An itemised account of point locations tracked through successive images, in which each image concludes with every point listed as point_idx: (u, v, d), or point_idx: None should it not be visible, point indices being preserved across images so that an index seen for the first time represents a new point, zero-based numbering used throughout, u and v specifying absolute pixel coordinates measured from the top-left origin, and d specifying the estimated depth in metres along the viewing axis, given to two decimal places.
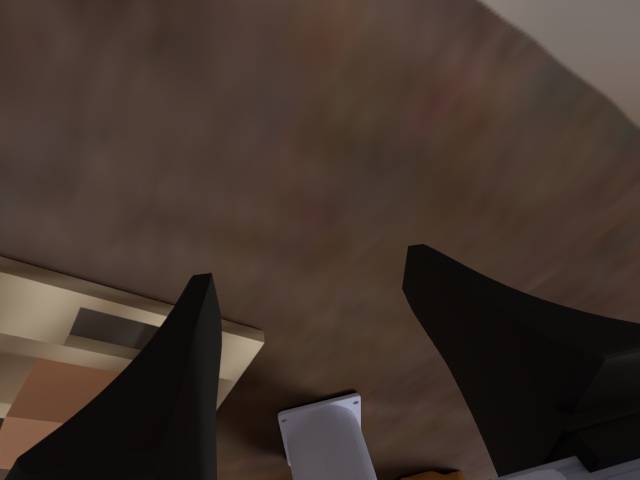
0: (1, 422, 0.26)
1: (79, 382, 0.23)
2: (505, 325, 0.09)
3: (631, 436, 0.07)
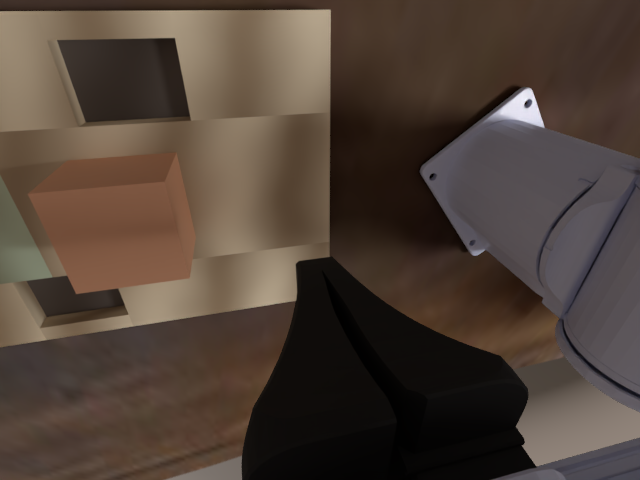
0: (112, 289, 0.22)
1: (121, 164, 0.16)
2: (368, 351, 0.08)
3: None
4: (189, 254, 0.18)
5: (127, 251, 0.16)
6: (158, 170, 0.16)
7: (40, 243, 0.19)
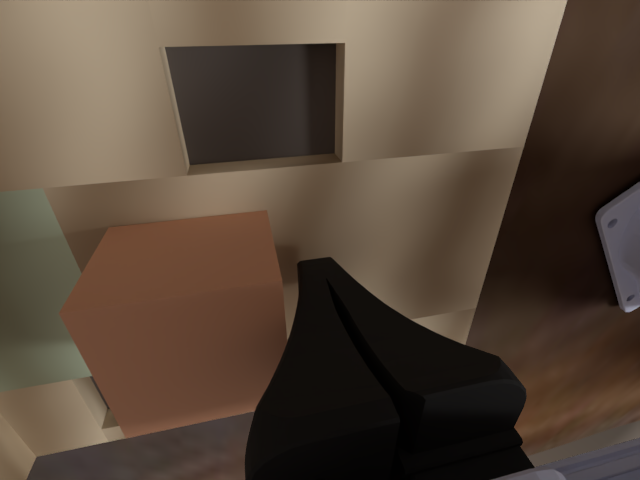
0: None
1: (195, 236, 0.11)
2: (366, 351, 0.08)
3: None
4: None
5: (208, 377, 0.10)
6: (258, 251, 0.10)
7: None
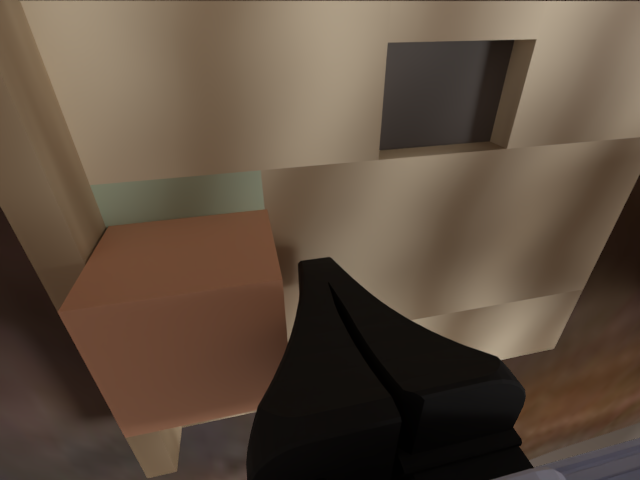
0: None
1: (195, 235, 0.11)
2: (365, 351, 0.08)
3: None
4: None
5: (208, 377, 0.10)
6: (258, 250, 0.10)
7: None
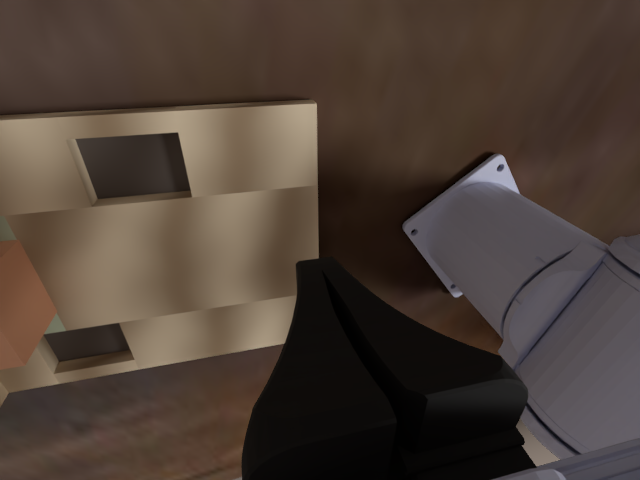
0: (120, 336, 0.24)
1: None
2: (368, 351, 0.08)
3: None
4: (31, 339, 0.18)
5: None
6: None
7: (55, 303, 0.21)
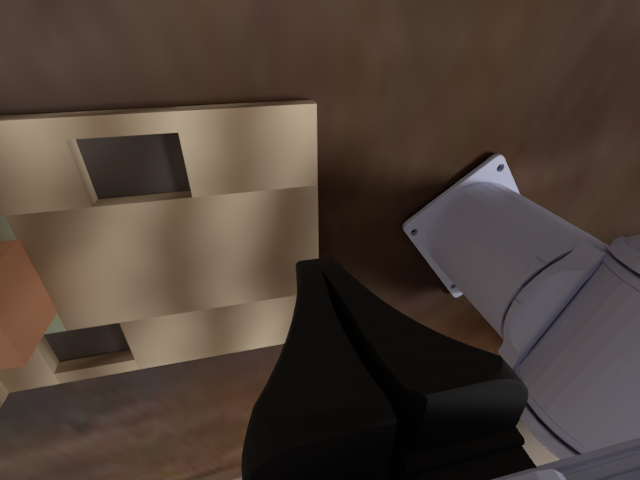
0: (120, 336, 0.24)
1: None
2: (368, 351, 0.08)
3: None
4: (31, 339, 0.18)
5: None
6: None
7: (56, 303, 0.21)
